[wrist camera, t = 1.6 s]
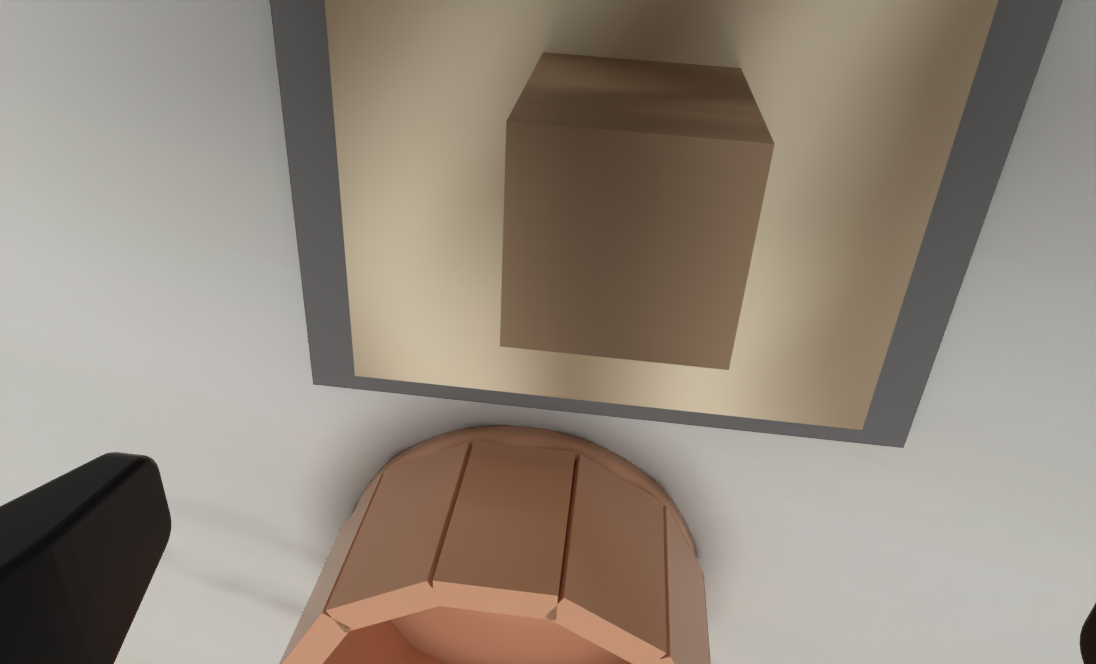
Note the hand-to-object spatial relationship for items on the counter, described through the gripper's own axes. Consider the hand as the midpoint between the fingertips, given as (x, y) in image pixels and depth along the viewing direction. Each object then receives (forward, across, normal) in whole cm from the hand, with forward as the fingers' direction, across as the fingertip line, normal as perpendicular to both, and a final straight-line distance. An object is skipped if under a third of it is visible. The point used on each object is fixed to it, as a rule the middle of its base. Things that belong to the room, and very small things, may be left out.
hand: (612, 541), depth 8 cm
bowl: (+13, +2, +14) cm, 19 cm away
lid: (+12, 0, 0) cm, 12 cm away
